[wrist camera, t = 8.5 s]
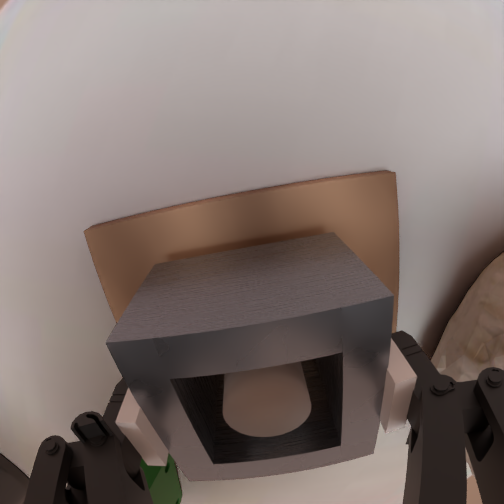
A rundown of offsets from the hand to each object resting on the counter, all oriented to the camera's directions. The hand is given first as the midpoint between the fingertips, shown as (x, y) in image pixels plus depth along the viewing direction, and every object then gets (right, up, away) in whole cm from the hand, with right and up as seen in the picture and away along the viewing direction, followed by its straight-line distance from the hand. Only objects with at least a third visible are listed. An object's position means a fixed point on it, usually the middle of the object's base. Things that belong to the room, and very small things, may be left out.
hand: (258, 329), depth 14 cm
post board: (0, +1, +3) cm, 3 cm away
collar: (0, 0, 0) cm, 0 cm away
